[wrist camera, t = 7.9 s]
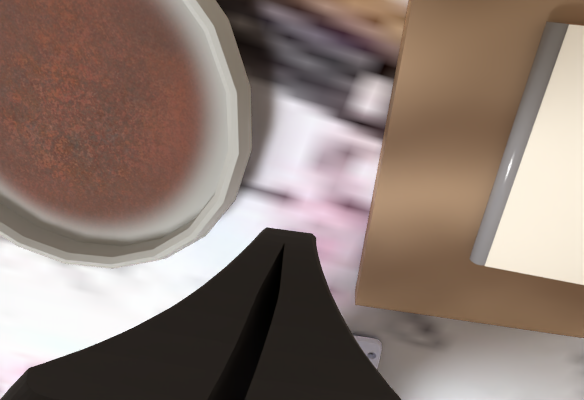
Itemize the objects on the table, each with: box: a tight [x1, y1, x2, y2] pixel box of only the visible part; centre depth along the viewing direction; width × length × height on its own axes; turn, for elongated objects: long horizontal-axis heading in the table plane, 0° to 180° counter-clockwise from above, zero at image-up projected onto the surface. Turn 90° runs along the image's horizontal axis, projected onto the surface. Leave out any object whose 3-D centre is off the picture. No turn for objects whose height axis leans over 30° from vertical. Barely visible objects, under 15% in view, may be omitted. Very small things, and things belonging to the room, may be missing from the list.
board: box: [355, 0, 584, 338], centre depth 18 cm, size 18×16×1 cm
